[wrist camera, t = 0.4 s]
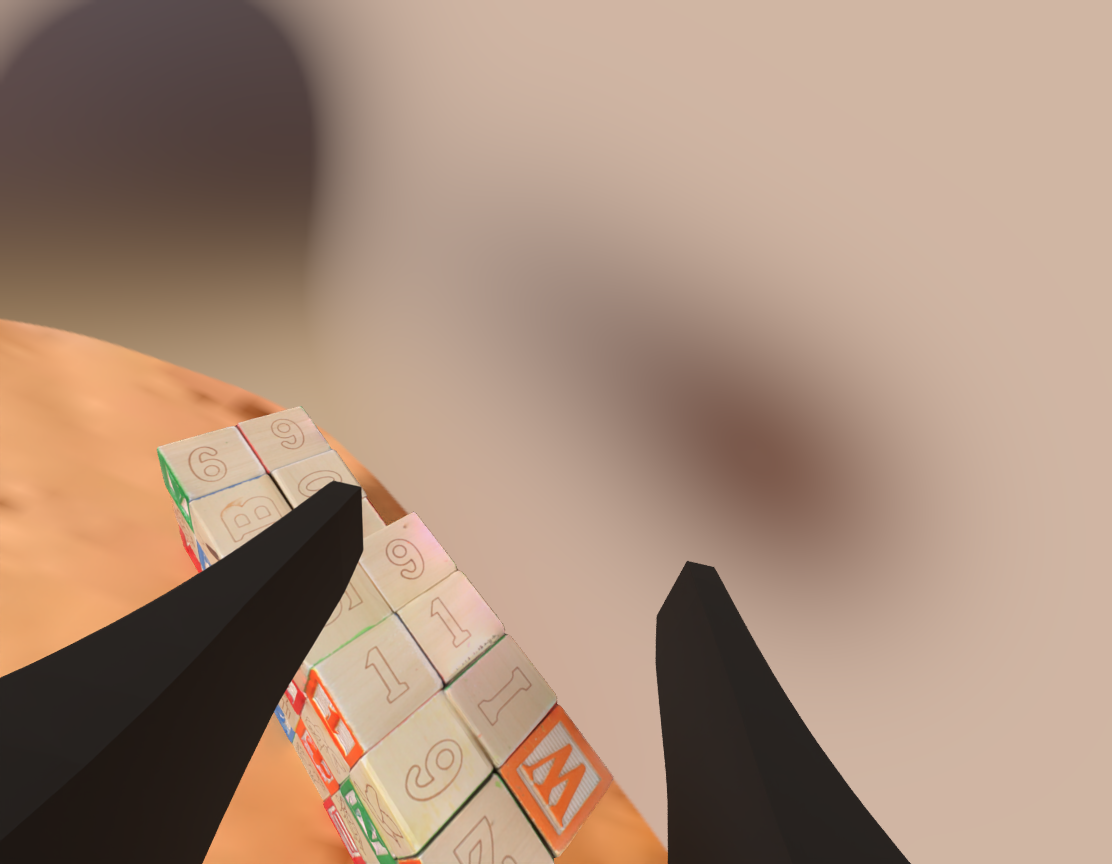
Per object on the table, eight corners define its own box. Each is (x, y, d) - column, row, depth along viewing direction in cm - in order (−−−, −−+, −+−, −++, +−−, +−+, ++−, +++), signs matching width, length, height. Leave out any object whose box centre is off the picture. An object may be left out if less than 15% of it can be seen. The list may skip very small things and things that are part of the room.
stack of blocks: (178, 546, 27) (142, 394, 18) (295, 499, 31) (309, 358, 23) (394, 941, 21) (484, 977, 12) (501, 814, 25) (621, 779, 17)
